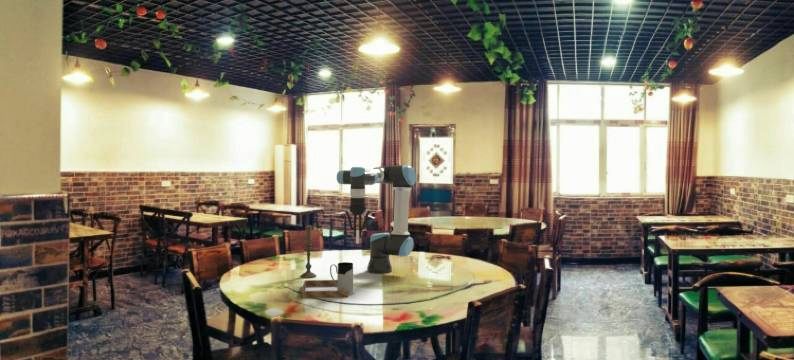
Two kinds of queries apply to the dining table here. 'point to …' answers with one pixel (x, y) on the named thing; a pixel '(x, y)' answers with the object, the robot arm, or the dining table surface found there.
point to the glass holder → (344, 277)
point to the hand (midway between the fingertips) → (357, 243)
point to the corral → (321, 293)
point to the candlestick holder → (308, 256)
